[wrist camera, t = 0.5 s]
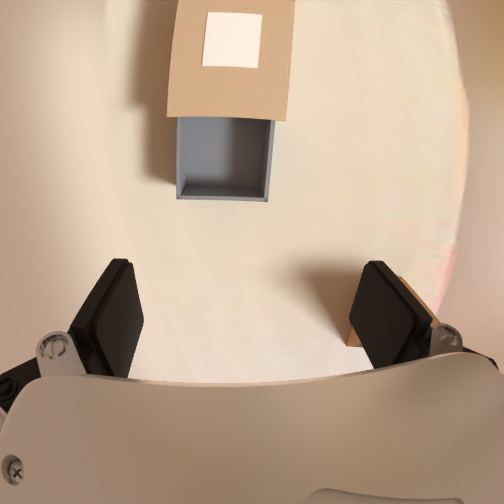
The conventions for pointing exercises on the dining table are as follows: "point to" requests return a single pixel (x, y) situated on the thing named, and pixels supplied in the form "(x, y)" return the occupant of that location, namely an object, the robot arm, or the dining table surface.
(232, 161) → the tray
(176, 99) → the mailer sleeve
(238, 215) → the dining table surface
